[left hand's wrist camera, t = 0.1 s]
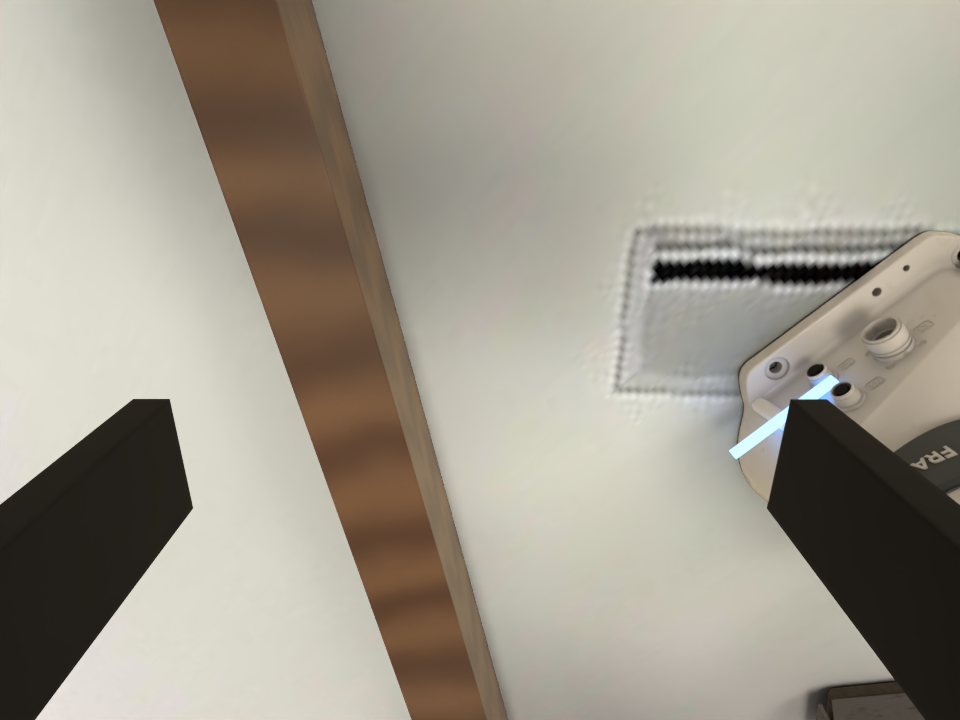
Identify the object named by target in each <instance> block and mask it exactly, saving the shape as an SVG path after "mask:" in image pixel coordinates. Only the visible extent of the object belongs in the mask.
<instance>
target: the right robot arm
mask: <svg viewBox="0 0 960 720" xmlns="http://www.w3.org/2000/svg"><path fill="white" fill-rule="evenodd" d="M959 251H960V235H957V234H953V233H949V232H938V231H927V232H924V233H921V234H920V235H918V236H916V237H915V238H913V239H912V240H911V241H909V242H908V243H906V244H905V245H904V246H902V247H901V248H900V249H898V250H897V251H896V252H894V253H893V254H891V255H890V256H889V257H887V258H886V259H885V260H883V261H882V262H881V263H879V264H878V265H877V266H875V267H874V268H873V269H871V270H870V271H869V272H867V273H866V274H865V275H863V276H862V277H860V278H859V279H858V280H856V281H855V282H854V283H852V284H851V285H850V286H848V287H847V288H846V289H844V290H843V291H842V292H840V293H839V294H838V295H836V296H835V297H834V298H832V299H831V300H829V301H828V302H827V303H825V304H824V305H823V306H821V307H820V308H819V309H817V310H816V311H815V312H813V313H812V314H811V315H809V316H808V317H807V318H805V319H804V320H803V321H801V322H800V323H798V324H797V325H796V326H794V327H793V328H792V329H790V330H789V331H788V332H786V333H785V334H784V335H782V336H781V337H780V338H778V339H777V340H776V341H774V342H773V343H772V344H770V345H769V346H767V347H766V348H765V349H763V350H762V351H761V352H759V353H758V354H757V355H755V356H754V357H753V358H751V359H750V360H749V361H747V362H746V363H745V364H744V365H743V367H742V368H741V371H740V374H739V384H740V390H741V395H742V399H743V403H744V412H743V418H742V422H741V426H740V431H739V437H738V444H737V445H736V446H735V447H733V448H732V449H731V450H729V451H730V452H731V454H732V455H733V456H734V457H735V459H737V458H739V462H740V465H741V469H742V471H743V474H744V476H745V478H746V480H747V481H748V483H749V484H750V486H751V487H752V488H753V489H754V490H755V491H756V493H758V494H759V495H760V496H761V497H762V498H763V499H765V500H766V501H769V497H770V492H771V487H772V483H773V478H774V473H775V469H776V464H777V459H778V455H779V450H780V445H781V441H782V436H783V431H784V427H785V422H786V417H787V413H788V408H789V403H790V399H827V400H828V401H830V402H831V403H832V404H833V405H835V406H836V407H837V408H838V409H840V410H841V411H842V412H843V413H845V414H846V415H847V416H849V417H850V418H851V419H852V420H854V421H855V422H856V423H857V424H859V425H860V426H861V427H862V428H864V429H865V430H866V431H867V432H869V433H870V434H871V435H872V436H874V437H875V438H876V439H877V440H879V441H880V442H881V443H883V444H884V445H885V446H886V447H888V448H889V449H890V450H891V451H893V452H894V453H895V454H896V455H898V456H899V457H900V458H901V459H903V460H904V461H905V462H906V463H908V464H909V465H910V466H912V467H913V468H914V469H915V470H917V471H918V472H919V473H920V474H922V475H923V476H924V477H925V478H927V479H928V480H929V481H930V482H932V483H933V484H934V485H935V486H937V487H938V488H939V489H940V490H942V491H943V492H944V493H946V494H947V495H948V496H949V497H951V498H952V499H953V500H954V501H956V502H957V503H958V504H959V505H960V257H958V258H957V254H958V252H959ZM774 362H777V365H776V366H775V367H774V368H773V369H769V367H770V365H771V364H772V363H774Z"/></svg>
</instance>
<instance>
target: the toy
mask: <svg viewBox="0 0 960 720" xmlns="http://www.w3.org/2000/svg"><path fill="white" fill-rule="evenodd" d="M816 720H925V719H924V718H923V716H922V715H921V714H920V712H919V711H918V710H917V708H916V707H915V706H914V704H913V703H912V702H911V700H910V699H909V698H908V696H907V695H906V694H905V692H904V691H903V690H902V688H901V687H900V686H899V684H898V683H897V682H890V683H880V684H870V685H860V686H850V687H840V688H831V689H830V690H829V692H828V697H827V706H826V711H825V709H824V707H823V705H822V704H818V707H817V716H816Z"/></svg>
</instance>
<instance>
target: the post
mask: <svg viewBox="0 0 960 720" xmlns="http://www.w3.org/2000/svg"><path fill="white" fill-rule="evenodd" d="M154 2H155V5H156V8H157V11H158V14H159V16H160V19H161V22H162V25H163V27H164V30H165V33H166V36H167V39H168V41H169V44H170V47H171V50H172V53H173V55H174V58H175V61H176V64H177V67H178V69H179V72H180V75H181V78H182V80H183V83H184V86H185V89H186V92H187V94H188V97H189V100H190V103H191V106H192V108H193V111H194V114H195V117H196V119H197V122H198V125H199V128H200V131H201V133H202V136H203V139H204V142H205V145H206V147H207V150H208V153H209V156H210V159H211V161H212V164H213V167H214V170H215V172H216V175H217V178H218V181H219V184H220V186H221V189H222V192H223V195H224V198H225V200H226V203H227V206H228V209H229V211H230V214H231V217H232V220H233V223H234V225H235V228H236V231H237V234H238V237H239V239H240V242H241V245H242V248H243V251H244V253H245V256H246V259H247V262H248V264H249V267H250V270H251V273H252V276H253V278H254V281H255V284H256V287H257V290H258V292H259V295H260V298H261V301H262V303H263V306H264V309H265V312H266V315H267V317H268V320H269V323H270V326H271V329H272V331H273V334H274V337H275V340H276V343H277V345H278V348H279V351H280V354H281V356H282V359H283V362H284V365H285V368H286V370H287V373H288V376H289V379H290V382H291V384H292V387H293V390H294V393H295V396H296V398H297V401H298V404H299V407H300V409H301V412H302V415H303V418H304V421H305V423H306V426H307V429H308V432H309V435H310V437H311V440H312V443H313V446H314V448H315V451H316V454H317V457H318V460H319V462H320V465H321V468H322V471H323V474H324V476H325V479H326V482H327V485H328V488H329V490H330V493H331V496H332V499H333V501H334V504H335V507H336V510H337V513H338V515H339V518H340V521H341V524H342V527H343V529H344V532H345V535H346V538H347V540H348V543H349V546H350V549H351V552H352V554H353V557H354V560H355V563H356V566H357V568H358V571H359V574H360V577H361V580H362V582H363V585H364V588H365V591H366V593H367V596H368V599H369V602H370V605H371V607H372V610H373V613H374V616H375V619H376V621H377V624H378V627H379V630H380V632H381V635H382V638H383V641H384V644H385V646H386V649H387V652H388V655H389V658H390V660H391V663H392V666H393V669H394V672H395V674H396V677H397V680H398V683H399V685H400V688H401V691H402V694H403V697H404V699H405V702H406V705H407V708H408V711H409V713H410V716H411V719H412V720H508V719H507V715H506V711H505V708H504V704H503V701H502V697H501V693H500V690H499V686H498V682H497V679H496V675H495V671H494V668H493V664H492V660H491V657H490V653H489V649H488V646H487V642H486V638H485V635H484V631H483V627H482V624H481V620H480V616H479V613H478V609H477V605H476V602H475V598H474V594H473V591H472V587H471V583H470V580H469V576H468V572H467V569H466V565H465V561H464V558H463V554H462V550H461V547H460V543H459V539H458V536H457V532H456V528H455V525H454V521H453V517H452V514H451V510H450V506H449V503H448V499H447V495H446V492H445V488H444V484H443V481H442V477H441V473H440V470H439V466H438V462H437V459H436V455H435V451H434V448H433V444H432V440H431V437H430V433H429V429H428V426H427V422H426V418H425V415H424V411H423V407H422V404H421V400H420V396H419V393H418V389H417V386H416V382H415V378H414V375H413V371H412V367H411V364H410V360H409V356H408V353H407V349H406V345H405V342H404V338H403V334H402V331H401V327H400V323H399V320H398V316H397V312H396V309H395V305H394V301H393V298H392V294H391V290H390V287H389V283H388V279H387V276H386V272H385V268H384V265H383V261H382V257H381V254H380V250H379V246H378V243H377V239H376V235H375V232H374V228H373V224H372V221H371V217H370V213H369V210H368V206H367V202H366V199H365V195H364V191H363V188H362V184H361V180H360V177H359V173H358V169H357V166H356V162H355V158H354V155H353V151H352V147H351V144H350V140H349V136H348V133H347V129H346V125H345V122H344V118H343V114H342V111H341V107H340V103H339V100H338V96H337V92H336V89H335V85H334V81H333V78H332V74H331V71H330V67H329V63H328V60H327V56H326V52H325V49H324V45H323V41H322V38H321V34H320V30H319V27H318V23H317V19H316V16H315V12H314V8H313V5H312V1H311V0H154Z"/></svg>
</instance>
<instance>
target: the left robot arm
mask: <svg viewBox="0 0 960 720" xmlns="http://www.w3.org/2000/svg"><path fill="white" fill-rule="evenodd" d="M192 509H193V506H192V501H191V497H190V492H189V487H188V483H187V478H186V473H185V469H184V464H183V459H182V455H181V450H180V445H179V441H178V436H177V431H176V427H175V422H174V417H173V413H172V408H171V403H170V399H133V400H132V401H130V402H129V403H128V404H127V405H125V406H124V407H123V408H122V409H120V410H119V411H118V412H117V413H115V414H114V415H113V416H111V417H110V418H109V419H108V420H106V421H105V422H104V423H103V424H101V425H100V426H99V427H98V428H96V429H95V430H94V431H93V432H91V433H90V434H89V435H88V436H86V437H85V438H84V439H83V440H81V441H80V442H79V443H77V444H76V445H75V446H74V447H72V448H71V449H70V450H69V451H67V452H66V453H65V454H64V455H62V456H61V457H60V458H59V459H57V460H56V461H55V462H54V463H52V464H51V465H50V466H48V467H47V468H46V469H45V470H43V471H42V472H41V473H40V474H38V475H37V476H36V477H35V478H33V479H32V480H31V481H30V482H28V483H27V484H26V485H25V486H23V487H22V488H21V489H20V490H18V491H17V492H16V493H14V494H13V495H12V496H11V497H9V498H8V499H7V500H6V501H4V502H3V503H2V504H1V505H0V720H35V719H36V718H37V716H38V715H39V714H40V712H41V711H42V710H43V708H44V707H45V706H46V704H47V703H48V702H49V700H50V699H51V698H52V696H53V695H54V694H55V692H56V691H57V690H58V688H59V687H60V686H61V684H62V683H63V682H64V680H65V679H66V678H67V676H68V675H69V674H70V672H71V671H72V669H73V668H74V667H75V665H76V664H77V663H78V661H79V660H80V659H81V657H82V656H83V655H84V653H85V652H86V651H87V649H88V648H89V647H90V645H91V644H92V643H93V641H94V640H95V639H96V637H97V636H98V635H99V633H100V632H101V631H102V629H103V628H104V627H105V625H106V624H107V623H108V621H109V620H110V619H111V617H112V616H113V615H114V613H115V612H116V611H117V609H118V608H119V607H120V605H121V604H122V603H123V601H124V600H125V599H126V597H127V596H128V595H129V593H130V592H131V591H132V589H133V588H134V587H135V585H136V584H137V582H138V581H139V580H140V578H141V577H142V576H143V574H144V573H145V572H146V570H147V569H148V568H149V566H150V565H151V564H152V562H153V561H154V560H155V558H156V557H157V556H158V554H159V553H160V552H161V550H162V549H163V548H164V546H165V545H166V544H167V542H168V541H169V540H170V538H171V537H172V536H173V534H174V533H175V532H176V530H177V529H178V528H179V526H180V525H181V524H182V522H183V521H184V520H185V518H186V517H187V516H188V514H189V513H190V512H191V510H192ZM767 509H768V510H769V512H770V513H771V514H772V516H773V517H774V518H775V520H776V521H777V522H778V524H779V525H780V526H781V528H782V529H783V530H784V532H785V533H786V534H787V536H788V537H789V538H790V540H791V541H792V542H793V544H794V545H795V546H796V548H797V549H798V550H799V552H800V553H801V554H802V556H803V557H804V558H805V560H806V561H807V562H808V564H809V565H810V566H811V568H812V569H813V570H814V572H815V573H816V574H817V576H818V577H819V578H820V580H821V581H822V582H823V584H824V585H825V587H826V588H827V589H828V591H829V592H830V593H831V595H832V596H833V597H834V599H835V600H836V601H837V603H838V604H839V605H840V607H841V608H842V609H843V611H844V612H845V613H846V615H847V616H848V617H849V619H850V620H851V621H852V623H853V624H854V625H855V627H856V628H857V629H858V631H859V632H860V633H861V635H862V636H863V637H864V639H865V640H866V641H867V643H868V644H869V645H870V647H871V648H872V649H873V651H874V652H875V653H876V655H877V656H878V657H879V659H880V660H881V661H882V663H883V664H884V665H885V667H886V668H887V669H888V671H889V672H890V674H891V675H892V676H893V678H894V679H895V680H896V682H897V683H898V684H899V686H900V687H901V688H902V690H903V691H904V692H905V694H906V695H907V696H908V698H909V699H910V700H911V702H912V703H913V704H914V706H915V707H916V708H917V710H918V711H919V712H920V714H921V715H922V716H923V718H924V719H925V720H960V505H959V504H958V503H957V502H956V501H954V500H953V499H952V498H951V497H949V496H948V495H947V494H946V493H944V492H943V491H942V490H940V489H939V488H938V487H937V486H935V485H934V484H933V483H932V482H930V481H929V480H928V479H927V478H925V477H924V476H923V475H922V474H920V473H919V472H918V471H917V470H915V469H914V468H913V467H912V466H910V465H909V464H908V463H906V462H905V461H904V460H903V459H901V458H900V457H899V456H898V455H896V454H895V453H894V452H893V451H891V450H890V449H889V448H888V447H886V446H885V445H884V444H883V443H881V442H880V441H879V440H877V439H876V438H875V437H874V436H872V435H871V434H870V433H869V432H867V431H866V430H865V429H864V428H862V427H861V426H860V425H859V424H857V423H856V422H855V421H854V420H852V419H851V418H850V417H849V416H847V415H846V414H845V413H843V412H842V411H841V410H840V409H838V408H837V407H836V406H835V405H833V404H832V403H831V402H830V401H828V400H827V399H790V403H789V408H788V413H787V417H786V422H785V427H784V431H783V436H782V441H781V445H780V450H779V455H778V459H777V464H776V469H775V473H774V478H773V483H772V487H771V492H770V497H769V501H768V506H767Z"/></svg>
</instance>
